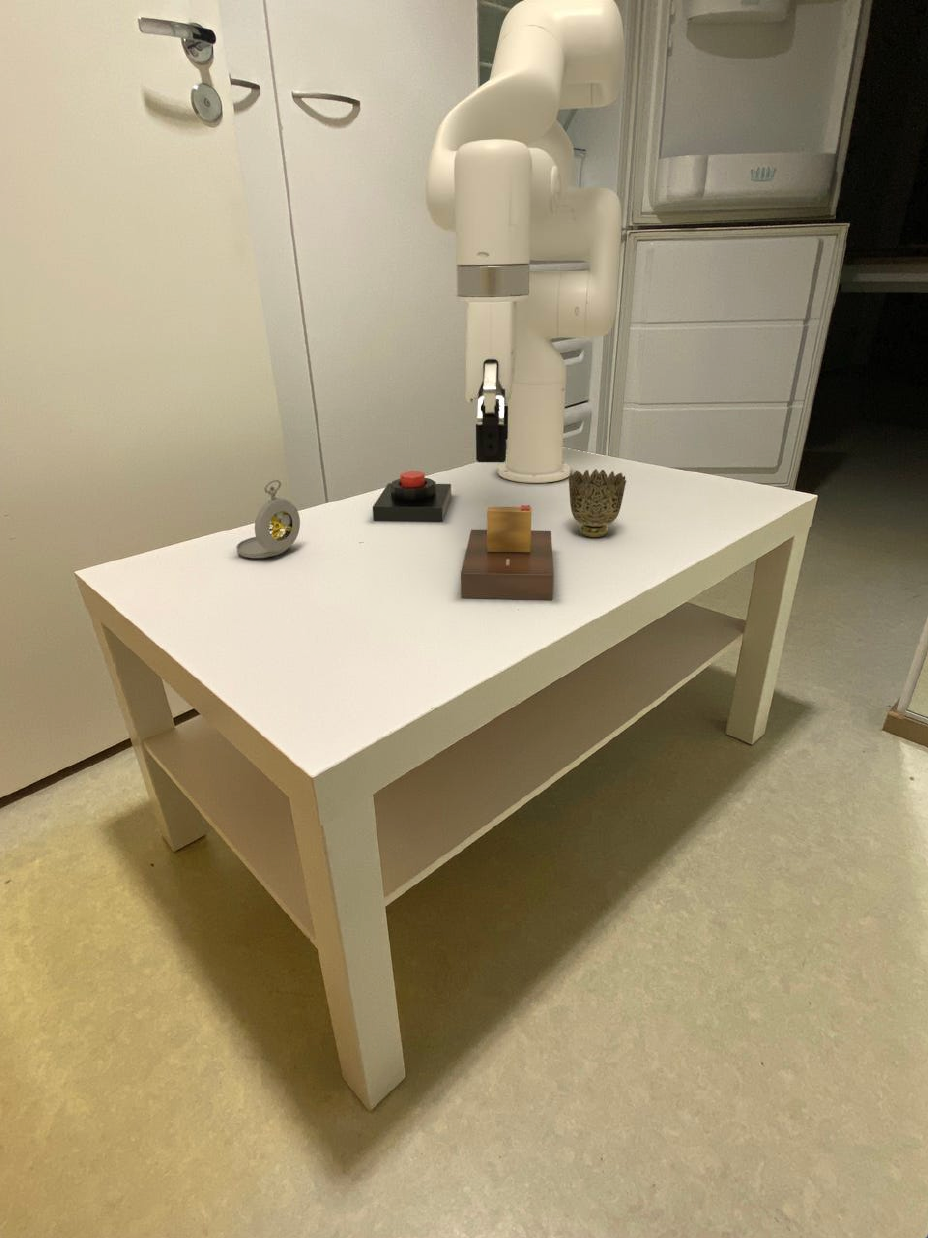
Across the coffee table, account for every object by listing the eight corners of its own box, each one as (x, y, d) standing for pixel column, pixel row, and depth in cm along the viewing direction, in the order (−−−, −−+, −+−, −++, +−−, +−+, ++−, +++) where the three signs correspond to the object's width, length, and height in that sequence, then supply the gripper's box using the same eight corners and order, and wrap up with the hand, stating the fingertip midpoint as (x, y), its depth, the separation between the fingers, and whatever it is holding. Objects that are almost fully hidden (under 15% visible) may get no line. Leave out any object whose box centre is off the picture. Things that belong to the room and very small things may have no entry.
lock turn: (487, 551, 81) (487, 508, 79) (488, 546, 83) (487, 504, 80) (530, 552, 81) (531, 509, 79) (530, 547, 82) (531, 504, 80)
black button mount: (388, 496, 112) (387, 471, 110) (451, 497, 111) (450, 472, 109) (373, 521, 101) (371, 494, 99) (442, 522, 100) (441, 495, 98)
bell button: (403, 482, 106) (402, 470, 105) (426, 482, 106) (426, 470, 105) (399, 488, 103) (398, 477, 102) (423, 489, 102) (422, 477, 102)
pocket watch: (246, 542, 94) (234, 468, 90) (308, 542, 94) (299, 468, 89) (226, 566, 87) (211, 487, 82) (293, 565, 87) (282, 486, 82)
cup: (621, 545, 91) (626, 485, 87) (563, 542, 92) (566, 482, 89) (621, 526, 97) (626, 469, 94) (567, 523, 99) (570, 467, 95)
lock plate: (471, 551, 90) (471, 528, 88) (549, 552, 89) (550, 529, 88) (461, 598, 78) (460, 571, 76) (552, 600, 77) (553, 573, 75)
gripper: (463, 282, 80) (465, 433, 88) (448, 289, 65) (453, 471, 73) (528, 281, 80) (525, 432, 88) (530, 288, 65) (525, 471, 73)
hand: (492, 450), depth 80 cm, fingers open, 9 cm apart
